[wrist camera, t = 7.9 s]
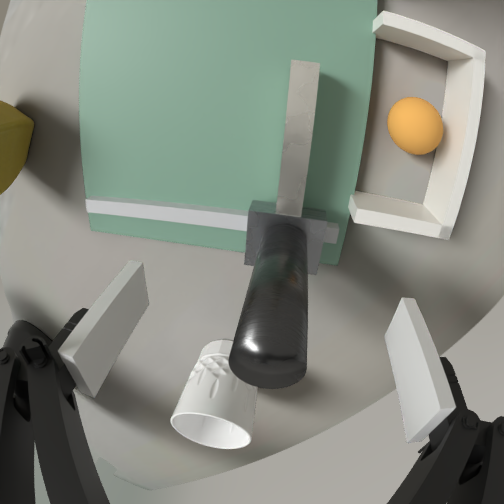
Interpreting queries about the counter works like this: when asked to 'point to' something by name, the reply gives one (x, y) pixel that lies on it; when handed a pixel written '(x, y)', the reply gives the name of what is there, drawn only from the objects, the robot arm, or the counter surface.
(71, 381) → the robot arm
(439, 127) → the ball
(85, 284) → the counter surface
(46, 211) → the counter surface
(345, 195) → the pitch
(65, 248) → the counter surface
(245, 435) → the white cup
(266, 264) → the black lever handle
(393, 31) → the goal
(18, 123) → the flower pot
